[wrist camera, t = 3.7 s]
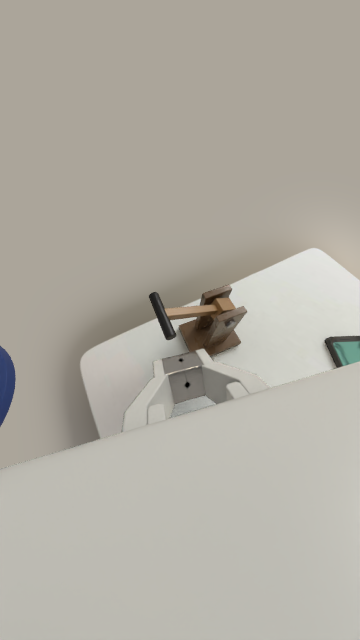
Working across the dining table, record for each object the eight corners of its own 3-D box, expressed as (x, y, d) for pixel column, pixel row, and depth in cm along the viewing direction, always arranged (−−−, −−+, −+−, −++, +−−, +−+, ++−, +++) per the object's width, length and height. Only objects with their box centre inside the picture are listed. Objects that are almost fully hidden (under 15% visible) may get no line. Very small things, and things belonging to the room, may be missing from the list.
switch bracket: (194, 363, 32) (205, 340, 21) (178, 327, 36) (180, 291, 24) (239, 344, 34) (271, 313, 23) (220, 312, 37) (239, 271, 26)
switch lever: (162, 343, 19) (170, 332, 17) (146, 301, 21) (151, 288, 20) (232, 328, 25) (243, 319, 24) (214, 297, 28) (222, 288, 26)
